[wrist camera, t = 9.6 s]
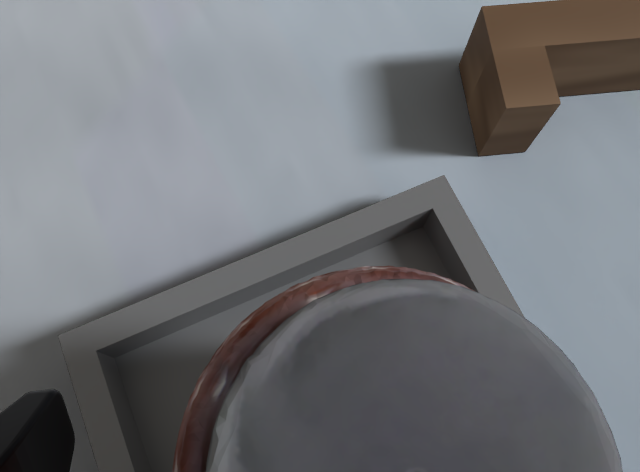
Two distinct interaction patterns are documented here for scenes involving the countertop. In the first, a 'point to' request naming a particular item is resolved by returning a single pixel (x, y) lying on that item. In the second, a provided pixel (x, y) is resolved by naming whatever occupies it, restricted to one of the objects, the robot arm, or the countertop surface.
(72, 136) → the countertop surface
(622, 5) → the wooden dock
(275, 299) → the supplement bottle
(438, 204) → the grey square tray
